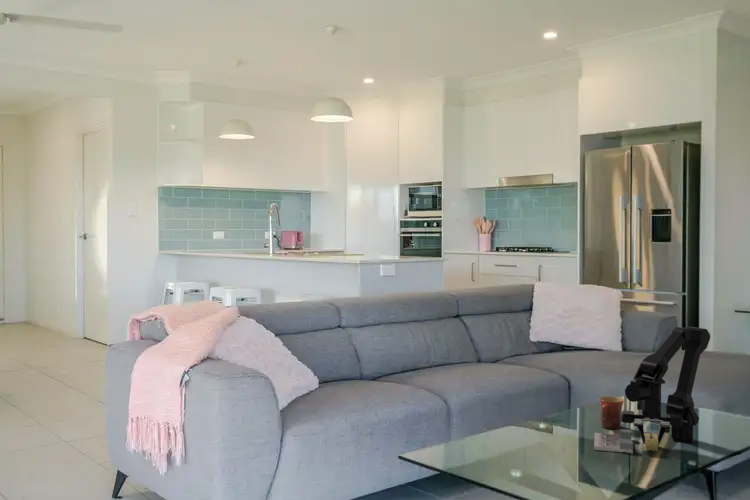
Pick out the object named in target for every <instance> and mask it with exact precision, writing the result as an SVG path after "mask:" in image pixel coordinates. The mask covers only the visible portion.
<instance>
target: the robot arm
mask: <svg viewBox="0 0 750 500" xmlns="http://www.w3.org/2000/svg"><path fill="white" fill-rule="evenodd" d="M710 340H711V334H710V332H709V330H708V329H707V328H702V327H695V326H687V327H681V326H676V327H674V328H673V329H672V332H671V333H670V335H669V336H668V337H667V338H666V340H665V341H663V342H662V344H661V346H659V348H658V349H657V350H656V351H655V352H654V353H652V354H649V355H647V356H646V357H645V358H644V359H643V360H642V361H641V362H640V364H639V366H638V368H637V370H636V372H635V374H634V376H633V379H631V380H629V381H630V382H629V383H630V384H628V385H626V387H625V389H624V395H625V397H626V399H627V400H628V401H629V402H632V403H636V410H637V411H641V414H635V410H623V409H622V423H624V424H633V426H634V427H636V428H637V430H638V432H639V435H640V436H641V441H642V444H643V445H644V444H645V437H644V433H645V432H644V431H645V430H644V422H651V423H652V422H654V423H659V425H658V433H657V437H658V446H659V445H660V443H661V441H662V438H663V436H664V435H665V432H666V431H667V429H668V430H670V437H671V439H672V441H674V442H681V443H694V442H695V441H694V426H697V425H698V424H699V420H700V417H699V415H698V414H697V413H696V411H695V410H694V409H695V402H694V399H693V397H692V393H693V387H694V384H695V379H696V375H697V370H698V365H699V361H700V357H701V354H702V353H704V351H706V349H707V348H708V346H709V342H710ZM682 346H683V348H684V353H683V359H682V363H681V367H680V371H679V374H678V375H679V376H678V380H677V385H676V390H675V391H674V392H673V393H672V394H671V393H670V394H668V395H667V401H666V403H665V412H666V416H662V415H661V414H662V385H663V384H666V380H664V379H663V377H665V375H666V373H667V371H668V370H669V363H670V361H671V359H672V358H674V356H675V355H676V354H677V352H678V351H679V349H681V347H682Z"/></svg>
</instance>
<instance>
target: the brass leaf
mask: <svg viewBox="0 0 750 500" xmlns="http://www.w3.org/2000/svg"><path fill="white" fill-rule="evenodd" d="M644 437H645V444H643V447H645V448H644V451H649V450H652V451H651V452H659V445H658V433H649V432H648V433H647V432H644Z"/></svg>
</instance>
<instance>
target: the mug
mask: <svg viewBox="0 0 750 500" xmlns="http://www.w3.org/2000/svg"><path fill="white" fill-rule="evenodd" d="M598 401H599V405H600V419H599V420H600V425H601V426H602V428H604V429H608V430H619V429H620V428H621V427H622V423H623V422H622V411H623V405H624V401H625V400H624V399H623V398H622V397H617V396H609V395H605V396H600V397H599V398H598Z"/></svg>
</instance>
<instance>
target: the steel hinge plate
mask: <svg viewBox="0 0 750 500" xmlns="http://www.w3.org/2000/svg"><path fill="white" fill-rule="evenodd" d="M593 438H594V441H593V442H594V444H593V450H594V451H602V452H614V453H622V452H626V454H634V449H633V448H634V442H633V440H632V430H631V429H623V428H622V429H620V428H618V434H615V433H603V432H601V433H600V432H594V437H593Z"/></svg>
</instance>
